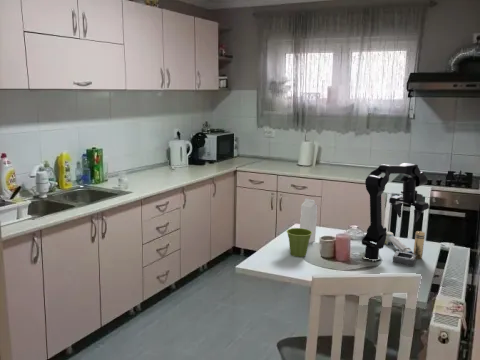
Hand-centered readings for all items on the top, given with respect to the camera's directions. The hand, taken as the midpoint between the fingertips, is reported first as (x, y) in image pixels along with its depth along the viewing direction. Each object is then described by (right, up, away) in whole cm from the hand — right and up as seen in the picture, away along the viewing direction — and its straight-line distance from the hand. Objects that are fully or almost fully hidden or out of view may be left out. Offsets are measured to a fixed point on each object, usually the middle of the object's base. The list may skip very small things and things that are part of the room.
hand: (407, 219), depth 230 cm
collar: (-6, -18, -13) cm, 23 cm away
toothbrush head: (-4, -16, +3) cm, 17 cm away
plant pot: (-55, -16, -10) cm, 58 cm away
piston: (+2, -17, -8) cm, 19 cm away
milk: (-48, -12, +11) cm, 51 cm away
